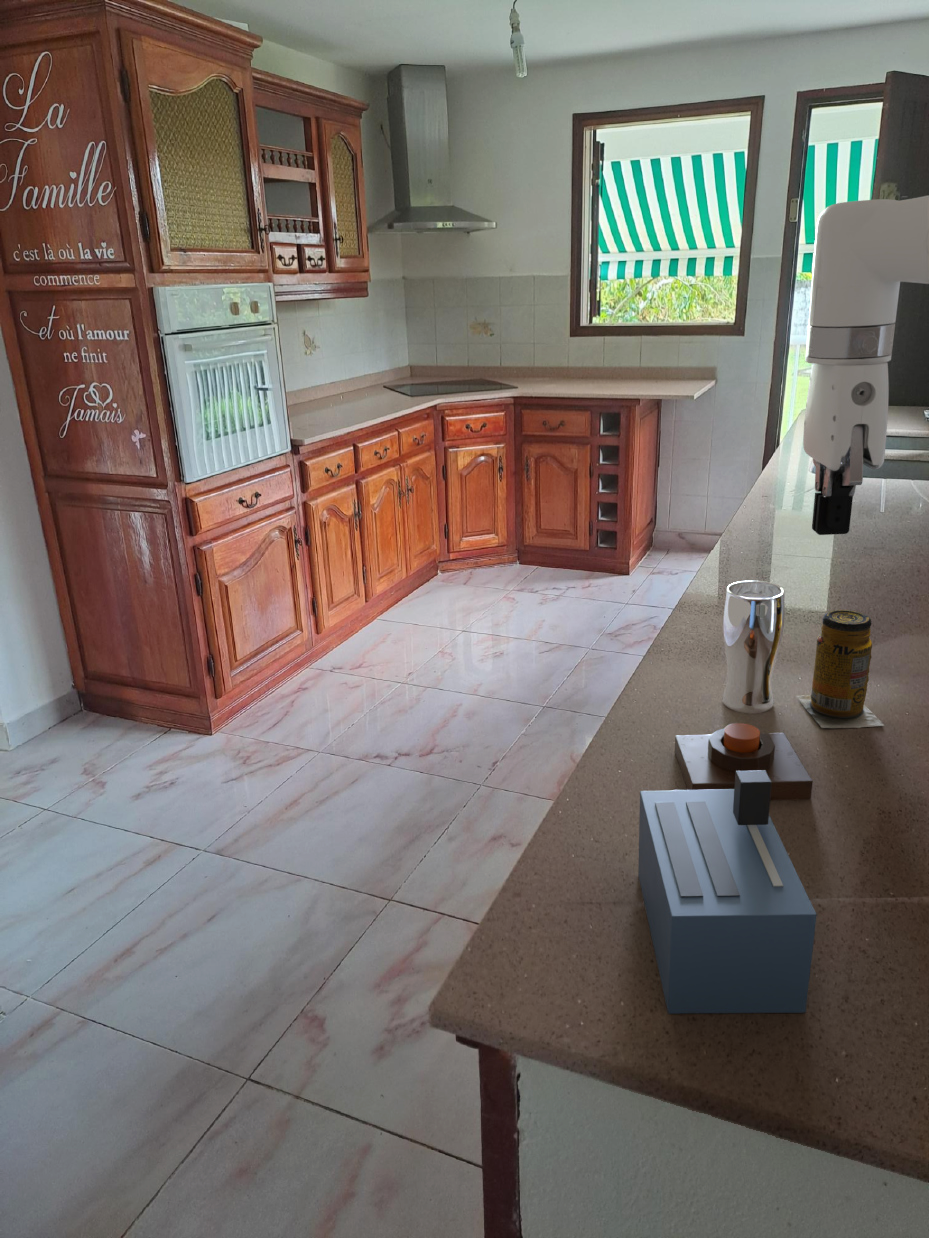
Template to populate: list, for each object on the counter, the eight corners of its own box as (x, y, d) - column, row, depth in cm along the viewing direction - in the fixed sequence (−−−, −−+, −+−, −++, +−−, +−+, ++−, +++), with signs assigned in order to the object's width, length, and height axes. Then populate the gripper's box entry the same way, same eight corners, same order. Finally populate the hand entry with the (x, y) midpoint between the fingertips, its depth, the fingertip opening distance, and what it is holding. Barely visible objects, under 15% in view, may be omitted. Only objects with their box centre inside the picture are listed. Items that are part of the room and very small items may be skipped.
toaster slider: (762, 812, 72) (765, 769, 71) (768, 824, 71) (771, 782, 69) (732, 812, 72) (735, 770, 71) (737, 825, 71) (740, 782, 69)
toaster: (750, 873, 79) (756, 787, 76) (805, 1012, 64) (817, 913, 61) (638, 875, 80) (639, 789, 77) (667, 1013, 65) (671, 915, 62)
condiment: (853, 694, 110) (864, 604, 105) (884, 727, 102) (897, 631, 98) (795, 697, 110) (803, 608, 106) (821, 730, 102) (831, 635, 98)
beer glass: (770, 720, 105) (780, 603, 99) (712, 709, 108) (718, 595, 103) (782, 696, 110) (792, 583, 105) (726, 686, 114) (733, 577, 108)
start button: (753, 736, 95) (755, 722, 94) (763, 753, 91) (764, 739, 91) (720, 737, 95) (720, 723, 94) (727, 754, 92) (728, 740, 91)
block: (782, 749, 99) (785, 718, 97) (811, 799, 89) (814, 765, 88) (674, 752, 99) (675, 721, 98) (691, 802, 90) (693, 768, 89)
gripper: (924, 349, 76) (897, 553, 83) (860, 336, 90) (841, 511, 96) (835, 354, 76) (816, 556, 83) (785, 341, 90) (772, 514, 97)
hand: (830, 531), depth 90 cm, fingers closed
